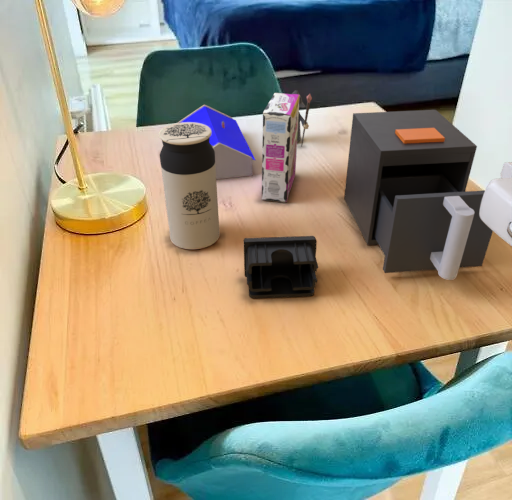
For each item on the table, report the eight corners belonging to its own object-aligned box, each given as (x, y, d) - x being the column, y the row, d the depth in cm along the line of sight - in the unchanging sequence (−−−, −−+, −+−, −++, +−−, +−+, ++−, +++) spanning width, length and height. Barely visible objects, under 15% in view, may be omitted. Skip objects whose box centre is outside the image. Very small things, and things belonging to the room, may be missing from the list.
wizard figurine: (275, 141, 113) (275, 88, 106) (288, 133, 117) (289, 81, 110) (307, 150, 109) (310, 95, 102) (319, 141, 113) (323, 88, 106)
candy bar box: (288, 203, 91) (291, 114, 81) (260, 201, 91) (260, 112, 82) (297, 175, 100) (300, 92, 90) (272, 173, 100) (273, 91, 91)
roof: (256, 175, 100) (255, 140, 96) (185, 182, 98) (182, 146, 93) (236, 133, 118) (235, 101, 113) (176, 138, 115) (172, 106, 111)
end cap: (311, 265, 75) (313, 227, 72) (318, 296, 70) (321, 256, 66) (244, 268, 75) (243, 229, 71) (245, 299, 69) (244, 259, 65)
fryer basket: (498, 287, 69) (525, 212, 62) (396, 295, 68) (411, 219, 61) (440, 213, 85) (456, 146, 78) (356, 218, 84) (365, 151, 77)
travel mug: (171, 225, 85) (158, 122, 75) (218, 222, 86) (212, 120, 75) (169, 252, 78) (154, 143, 68) (220, 249, 79) (213, 141, 69)
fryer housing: (452, 239, 81) (478, 142, 71) (367, 245, 80) (381, 147, 70) (418, 194, 93) (436, 106, 83) (343, 198, 92) (353, 109, 82)
